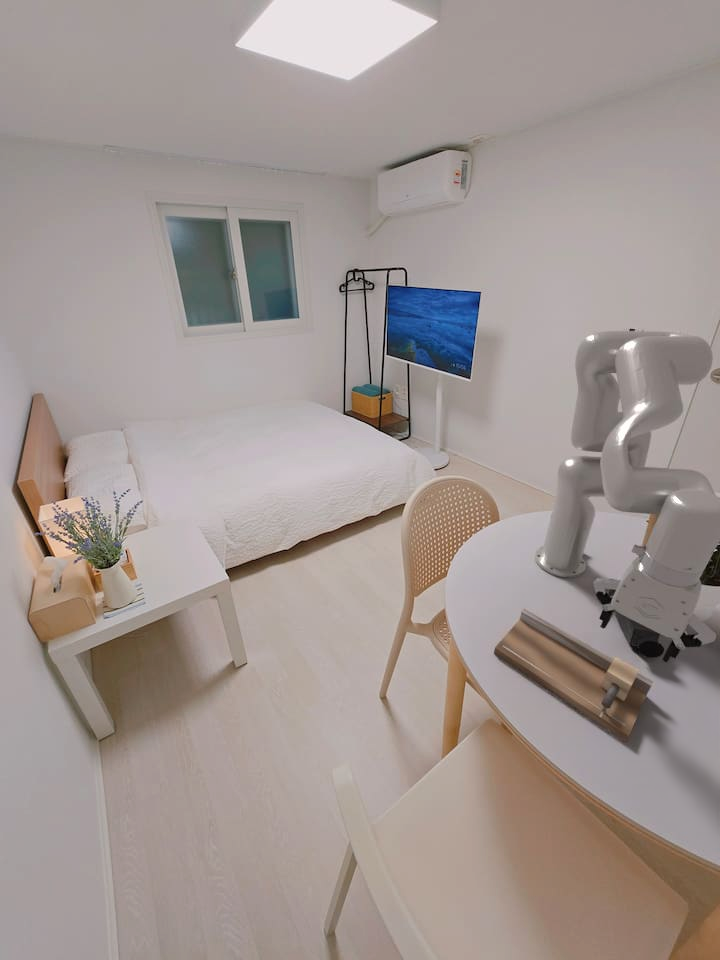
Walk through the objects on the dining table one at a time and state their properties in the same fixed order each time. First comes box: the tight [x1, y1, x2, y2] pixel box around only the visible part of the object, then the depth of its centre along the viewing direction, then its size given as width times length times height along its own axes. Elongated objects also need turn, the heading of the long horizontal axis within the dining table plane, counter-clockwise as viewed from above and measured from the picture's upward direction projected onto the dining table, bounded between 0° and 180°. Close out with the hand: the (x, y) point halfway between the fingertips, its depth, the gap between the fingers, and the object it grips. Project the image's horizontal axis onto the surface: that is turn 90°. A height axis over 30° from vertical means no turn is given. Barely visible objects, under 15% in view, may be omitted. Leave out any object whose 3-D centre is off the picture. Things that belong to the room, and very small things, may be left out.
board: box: [493, 608, 654, 743], centre depth 79 cm, size 12×25×4 cm, turn 44°
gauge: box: [601, 656, 640, 712], centre depth 73 cm, size 9×4×4 cm, turn 134°
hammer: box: [608, 514, 665, 659], centre depth 86 cm, size 20×5×30 cm, turn 165°
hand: (634, 639), depth 70 cm, fingers open, 9 cm apart
